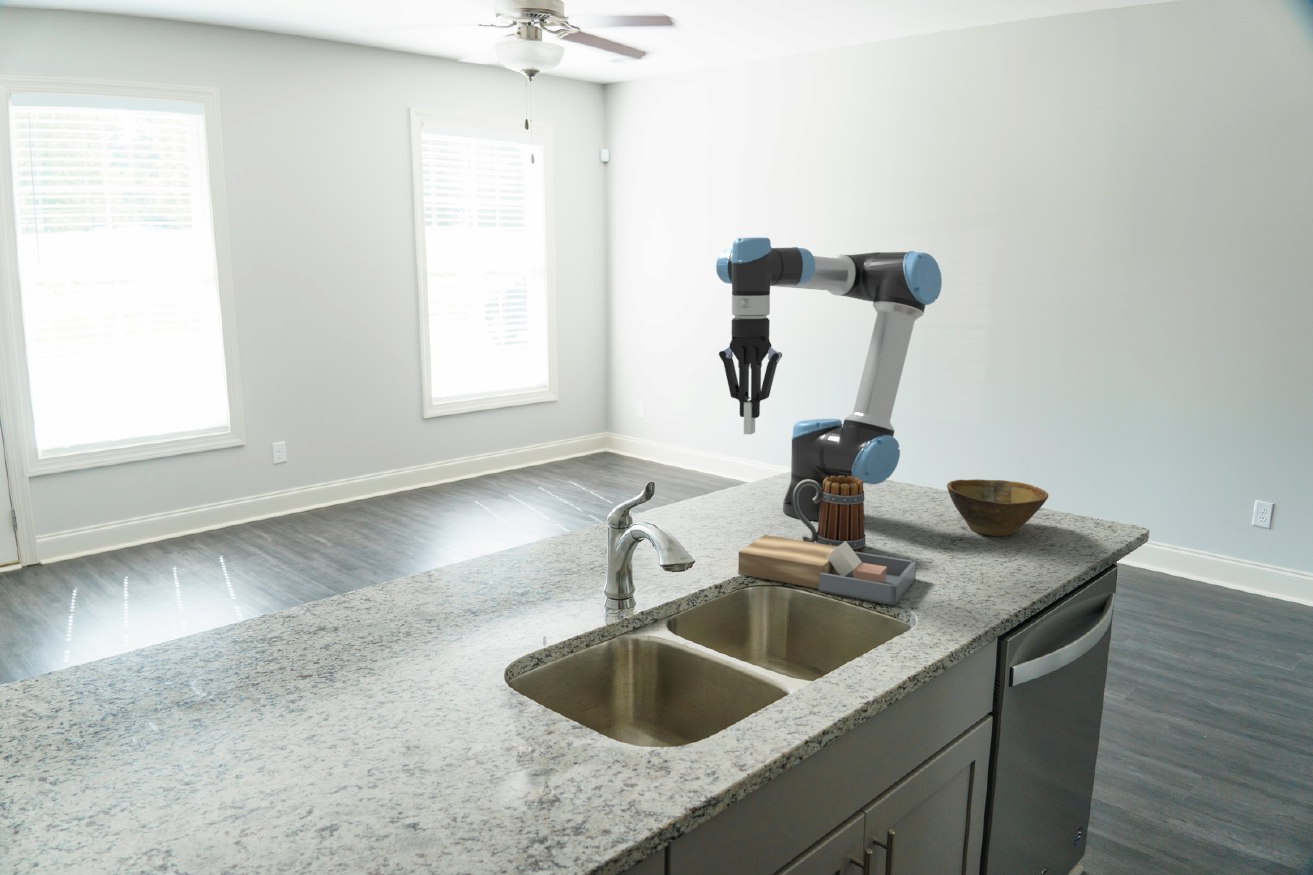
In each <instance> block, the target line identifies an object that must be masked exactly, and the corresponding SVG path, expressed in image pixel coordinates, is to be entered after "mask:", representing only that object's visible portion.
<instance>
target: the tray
mask: <svg viewBox="0 0 1313 875" xmlns="http://www.w3.org/2000/svg"><path fill="white" fill-rule="evenodd" d="M855 554H856V555H857V556H858V558H859V559H860V560H861V563H867V564H873V565H879V566H885V567H887V574H886V582H885V584H884V583H879V582H873V581H867V580H862V579H856V578H853V571H851V572H850V573H848V574H847V575H845V576H840V574H839V573H838V572H837V573H836V574H835V575H833V574H827V573H822V572H821V573H820V578H819V589H818V592H819V593H825V594H830V595H835V596H840V597H846V598H852V599H856V600H862V601H866V602H873V603H878V604H883V605H889V606H896V604H897V603H898V601H900V599H902V596H904V594H905V593H906V591H908V589H909V588H910V586H911V585H912V584H913V583H914V582H915V581H916V579H917V578H916V575H917V562H918V561H917V560H916V561H915V560H910V559H905V558H904V559H903V558H896V557H891V556H884V555H878V554H871V553H865V552H862V551H861V552H855Z"/></svg>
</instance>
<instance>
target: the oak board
mask: <svg viewBox="0 0 1313 875" xmlns="http://www.w3.org/2000/svg"><path fill="white" fill-rule="evenodd" d="M836 547H838V546H832V545H826V544H819V543H816V542H814V543H813V542H807V541H803V540H799V539H794V538H793V539H792V538H788V537H787V538H786V537H783V536H782V537H781V536H774V535H768V534H763V535H762V536H760V537H759V538H757V539H756V540H754V541H753V542H751V543H749V544H748V545H747V546H746V547H744V548H742V549H741V550H740V551H738V568H737V569H738V572H737V573H738V575H743V576H748V577H749V576H750V577H755V578H759V579H765V580H770V581H775V582H781V583H787V584H790V585H791V584H792V585H797V586H802V587H807V588H808V587H809V588H814V589H818V590H819V578H820V573H821V572H822V573H827V574H833V575H835V574H836V573H837V570H836V569H835V568H834V566H833V565H832V564H831V562H830V561H829V560H828V558H827V557H826V556H827V555H828V554H829V553H830V552H831V551H832V550H834V549H835V548H836Z"/></svg>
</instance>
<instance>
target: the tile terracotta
mask: <svg viewBox="0 0 1313 875" xmlns="http://www.w3.org/2000/svg"><path fill="white" fill-rule="evenodd" d="M886 574H887V567H885V566H879V565H873V564H867V563H860V564H859V565H858V566H857V567H856V568H855V569H854V570H853V578H856V579H862V580H867V581H873V582H879V583H884V584H885V582H886Z"/></svg>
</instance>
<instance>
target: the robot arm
mask: <svg viewBox="0 0 1313 875" xmlns="http://www.w3.org/2000/svg"><path fill="white" fill-rule="evenodd" d="M715 270H716V274H717V276H718V278H719V280H720V281H721V282H723V283H725V284H731V314H732V316H734V317H733V318H732V319H731V340H730V342H729V346H728V347H726V349H724V350H721V351H719V353H718V357H719V358H720V359H721V361H722V364H723V368H724V371H725V375H726V376H725V377H726V379H727V386H728V390H729V395H730V397H731V398H732V399H736V400H738V402H739V416H740V418H743V435H750V436H751V435H752V434H754V433H756V418H760V414H761V412H760V411H761V410H760V409H761V406H760V405H761V401H763V400H766V399H768V398H769V397H770V394H771V390H772V387H773V382H774V377H775V374H776V370H777V365H778V363H780V360H781V359H782V357H783V353H782V352H781V351H777V350H775V349H774V348H773V347H772V343H771V341H770V320H771V319H770V318H769V317H767V316H769V315H770V314H771V310H770V309H771V308H770V306H771V305H770V304H771V303H770V302H771V301H770V300H771V298H770V297H771V287H779V288H789V289H790V288H793V289H806V290H818V291H819V290H820V291H828V292H829V293H830V294H832V295H833V296H837V297H838V296H839V297H840V296H841V297H846V298H852V299H857V300H861V301H865V302H866V301H867V302H872V306H873V309H874V310H875V312H876V313H877V314H876V317H875V321H874V326H873V330H872V334H871V337H870V342H869V345H868V350H867V354H866V359H865V363H864V367H863V370H862V373H861V374H862V375H861V378H860V381H859V387H858V390H857V391H858V392H857V395H856V398H855V403H854V407H853V411H852V412H851V414H849V415H847V417H845V418H844V420H843V422H842V420H841V419H840V418H839V419H838V418H816V419H805V420H801V421H797V422H796V423H794V425H793V427H792V428H793V429H792V437H791V462H790V463H791V469H790V470H791V471H790V472H791V474H790V483H789V485H788V488H787V490H786V494H785V497H784V499H783V502H782V512H783V513H784V514H785V515H787V516H789V517H791V518H792V517H793V518H796V519H800V518H799V517H798V515H797V513H796V511H795V507H794V501H793V493H794V490H795V487H796V486H797V484H798V483H799V482H801V481H802V480H806V479H811V480H814V481H816V482H817V483H818V484H819V485H820V487H821V490H822V487H823V481H824V479H825V478H826V477H831V476H836V477H838V476H845V478H847V476H850V477H853V478H859V479H860V480H862V482H863V484H869V485H879V484H882V483H884V482H885V481H886V480H887V479H888V478H890V477H891V476H892V475H893V473H894V472H895V471H896V468H897V467H898V465H899V460H900V456H901V450H900V449H899V448H900V443H899V442H898V440H897V439H896V438H895V437H894V435H895V428H894V427H893V425H892V423H891V418H892V415H893V410H894V407H895V402H896V398H897V394H898V391H899V387H900V382H901V380H902V379H901V377H902V374H903V370H904V366H905V361H906V359H907V354H908V349H909V346H910V341H911V338H912V334H913V333H912V332H913V329H914V325H915V322H916V321H917V320H918V319H920V318H921V317H923V316H924V313H925V309H926V306H929V305H932V304H934V303H935V302H936V300H937V299H938V298H939V296H940V294H941V291H942V283H943V282H942V279H943V278H942V272H941V269H940V266H939V264H938V262H937V260H936V259H935V258H934V256H932V255H931V254H930V253H927V252H920V251H918V252H917V251H913V250H910V251H891V252H889V251H887V252H886V251H885V252H884V251H883V252H880V251H879V252H877V251H875V252H868V253H867V252H866V253H858V254H836V255H834V256H832V257H828V256H827V257H826V256H818V255H817V256H816V255H813V253H812V252H811V250H809V249H807V248H805V247H798V246H795V247H793V246H792V247H772V246H771V239H770V238H768V237H738V238H735V239H734V240H733V243H732V248H728V249H725V250H724V251H721V253H720V254H719V255H718V257H717V259H716V265H715ZM767 355H768V356H767ZM733 356H735V358H736V360H737V361H738V363H737V367H738V376H737V371H736V366H735V362H734V359H733ZM766 356H767V359H768V362H767V365H766V369H765V371H764V377H763V380H762V366H763V360H764V359H765V358H766ZM750 373H751V374H750ZM750 375H751V376H750ZM749 376H750V377H749ZM749 384H750V385H749ZM749 391H750V392H749ZM749 393H750V394H749ZM749 395H750V396H749ZM816 494H817V489H816V488H815V487H813V486H810V485H807V486H804V487H803V488H802V489H801V490H800V492H799V495H798V503H799V508H800V510H801V512H802V514H803V515H804V516H805V517H806V518H807V519H808V520H809V521H819V514H820V505H821V499H820V501H819V502H818V503H815V502H814V501H813V498H814V497H815V496H816Z"/></svg>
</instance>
